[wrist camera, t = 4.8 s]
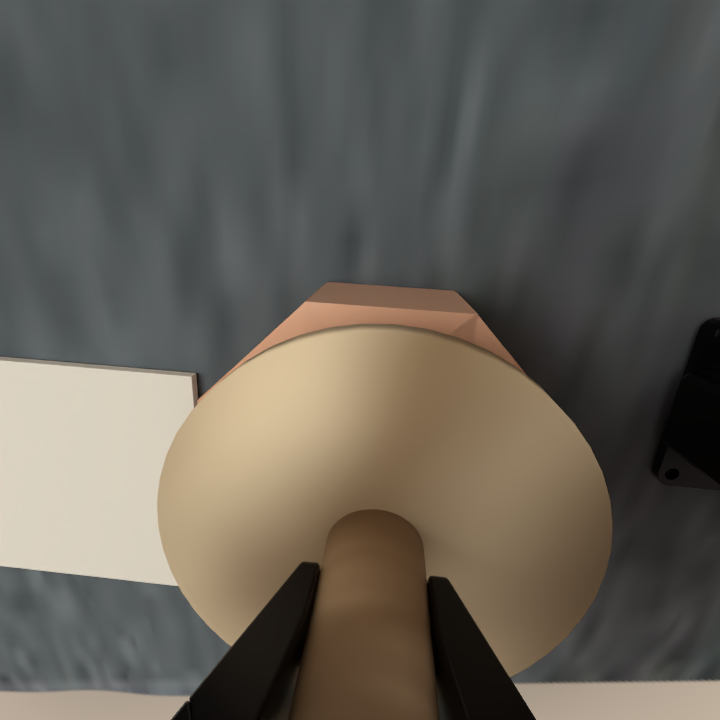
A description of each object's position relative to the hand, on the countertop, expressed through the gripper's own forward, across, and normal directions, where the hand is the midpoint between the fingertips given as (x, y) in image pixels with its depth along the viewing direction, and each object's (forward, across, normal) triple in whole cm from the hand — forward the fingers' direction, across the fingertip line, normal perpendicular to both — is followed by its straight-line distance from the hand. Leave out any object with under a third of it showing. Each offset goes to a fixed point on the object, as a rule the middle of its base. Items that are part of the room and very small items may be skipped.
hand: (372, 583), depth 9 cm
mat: (+8, +13, +4) cm, 16 cm away
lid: (+2, 0, 0) cm, 2 cm away
